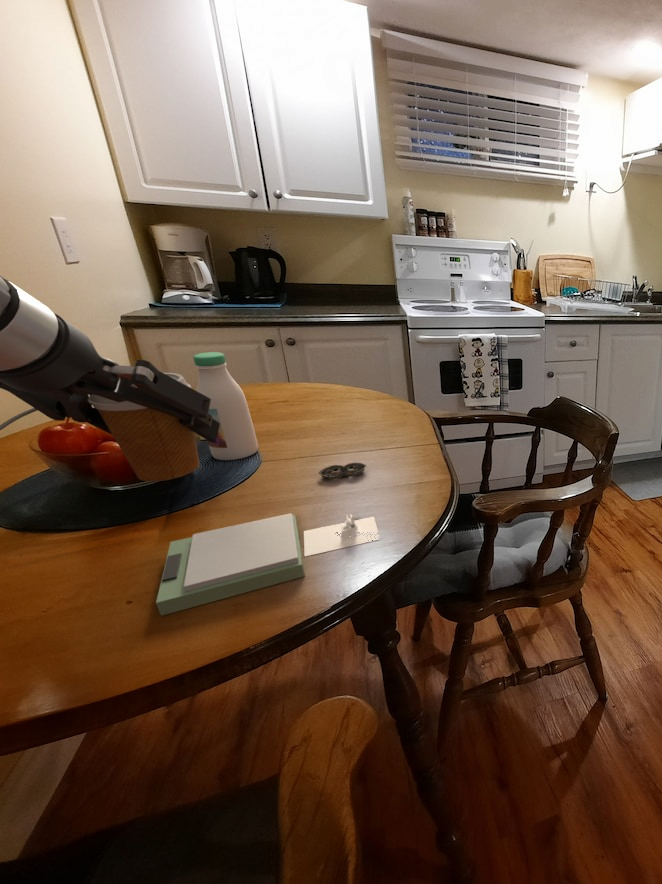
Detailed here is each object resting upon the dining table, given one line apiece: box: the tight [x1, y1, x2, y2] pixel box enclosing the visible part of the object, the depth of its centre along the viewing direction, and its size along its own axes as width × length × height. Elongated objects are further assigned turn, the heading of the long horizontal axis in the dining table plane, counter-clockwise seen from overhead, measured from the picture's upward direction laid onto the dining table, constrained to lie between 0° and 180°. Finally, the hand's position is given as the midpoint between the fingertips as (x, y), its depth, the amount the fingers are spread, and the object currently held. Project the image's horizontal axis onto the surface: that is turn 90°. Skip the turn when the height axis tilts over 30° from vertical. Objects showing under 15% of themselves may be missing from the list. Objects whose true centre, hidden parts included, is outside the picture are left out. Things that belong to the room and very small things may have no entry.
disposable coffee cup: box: [87, 372, 200, 482], centre depth 62 cm, size 10×10×12 cm
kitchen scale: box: [155, 512, 306, 617], centre depth 67 cm, size 14×15×3 cm
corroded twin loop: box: [318, 462, 367, 481], centre depth 92 cm, size 5×8×1 cm, turn 116°
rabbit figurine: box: [340, 513, 359, 540], centre depth 75 cm, size 3×3×3 cm
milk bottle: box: [192, 351, 259, 461], centre depth 94 cm, size 8×8×20 cm
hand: (175, 433), depth 65 cm, fingers closed on disposable coffee cup, 9 cm apart
